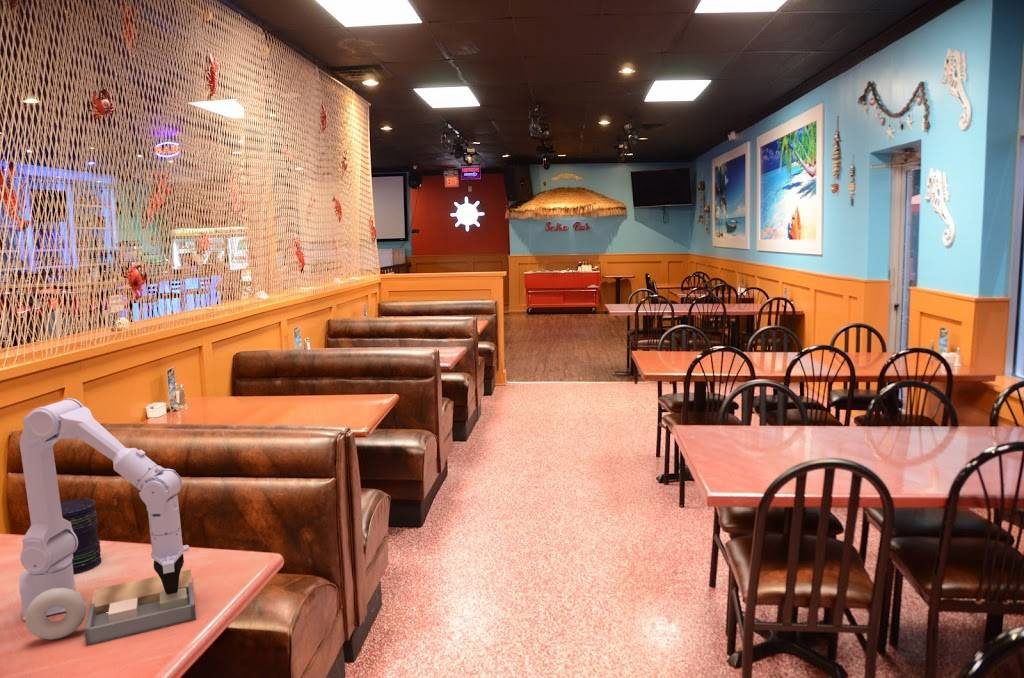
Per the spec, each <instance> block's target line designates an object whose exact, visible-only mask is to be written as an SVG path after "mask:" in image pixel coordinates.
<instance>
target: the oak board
mask: <svg viewBox="0 0 1024 678" xmlns="http://www.w3.org/2000/svg"><path fill="white" fill-rule="evenodd" d="M189 582H192V583H193V576H192V569H186V570H181V571H180V575H179V586H178V589H182V588H186V594H187V595H188V594H189V586H188V583H189ZM163 592H165V590H164V587H163V584H162V581H161V578H160V577H159V575H157V576H151V577H148V578H142V579H139V580H133V581H128V582H124V583H120V584H114V585H110V586H105V587H100V588H96V589H95V588H94V590H93V595H92V598H91V604H93V603H95V612H96V615H99V614H103V613H106V612H109V606H110V603H115V602H120V601H124V600H129V599H134V598H138V606H139V605H143V604H148V603H152V602H157V601H160V593H163Z"/></svg>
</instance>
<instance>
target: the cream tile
mask: <svg viewBox="0 0 1024 678" xmlns="http://www.w3.org/2000/svg"><path fill="white" fill-rule="evenodd" d="M134 617H138V598H134V599H129V600H124V601H120V602H115V603H110V606H109V612H108V618H109V623H112V622H117V621H121V620H125V619H130V618H134Z"/></svg>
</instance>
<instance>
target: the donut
mask: <svg viewBox="0 0 1024 678" xmlns="http://www.w3.org/2000/svg"><path fill="white" fill-rule="evenodd" d="M78 592H79V591H77V590H76V591H74V590H72V589H68V588H53V589H50V590H47V591H44V592H43V593H41V594H40V595H38V596H37V597H36V598H35V599H34V600H33V601H32V602H31V603H30V604H29V606H28V609H27V611H26V617H25V620H24V621H25V625H26V628H27V629H28V631H30V633H31V634H32V635H33V636H35V637H37V638H39V639H42V640H43V639H45V640H50V641H51V640H58V639H62V638H64V637H67V636H69V635H71V634H72V633H74V632H75V631H77V629H78V628H79V627H80V626H81V625H82V623H84V622H83V621H84V619H85V617H86V615H87V605H86V601H85V598H84V597H83V596H82V595H81V594H79V593H78ZM54 606H61V607H63V608H65V610H66V612H65V613H66V614H65V615H64V616H63V618H61V619H58V620H51V619H50V618H48V616H46V613H47V611H48V610H49V609H50V608H51V607H54Z"/></svg>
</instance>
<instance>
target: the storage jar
mask: <svg viewBox="0 0 1024 678" xmlns="http://www.w3.org/2000/svg"><path fill="white" fill-rule="evenodd" d="M60 503H61V511H62V518H64V519H66V520H68V521H70V522H71V525H72V529H73V532H74V533H75V535H76V536H77V539H78V547H77V549H76V551H75V552H74V553H73V559H72V565H73V573H74V575H78V574H82V573H86V572H88V571H91V570H93V569H95V568H97V567H98V566H100V564H101V563H102V558H101V541H100V538H98V530H97V529H98V528H97V525H98V518H97V517H98V515H97V511H96V507H95V505H96V503H95V500H94V499H91V498H78V499H77V498H76V499H70V500H66V501H62V502H61V501H60Z"/></svg>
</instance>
